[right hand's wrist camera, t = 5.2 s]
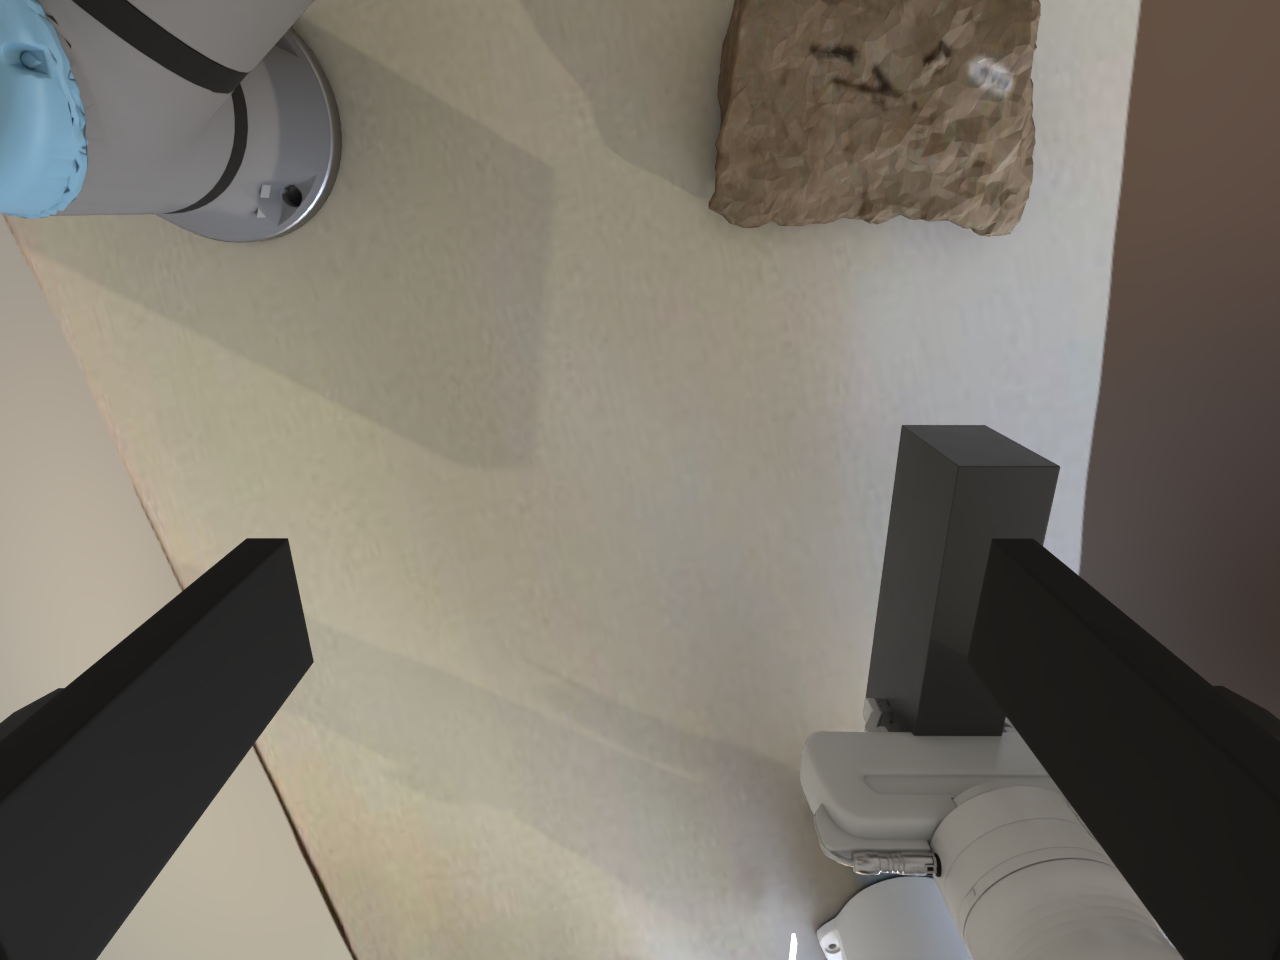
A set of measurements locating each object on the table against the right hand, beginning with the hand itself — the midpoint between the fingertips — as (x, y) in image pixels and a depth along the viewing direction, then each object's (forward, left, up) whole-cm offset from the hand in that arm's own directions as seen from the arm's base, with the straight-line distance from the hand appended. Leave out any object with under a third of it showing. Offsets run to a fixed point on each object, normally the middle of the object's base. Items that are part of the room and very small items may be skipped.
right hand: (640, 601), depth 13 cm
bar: (+18, +20, -33) cm, 43 cm away
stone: (-13, +15, -41) cm, 45 cm away
